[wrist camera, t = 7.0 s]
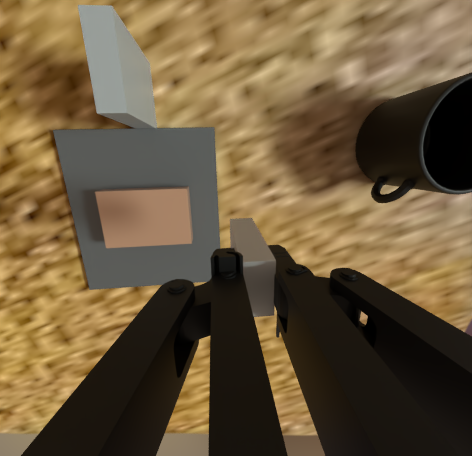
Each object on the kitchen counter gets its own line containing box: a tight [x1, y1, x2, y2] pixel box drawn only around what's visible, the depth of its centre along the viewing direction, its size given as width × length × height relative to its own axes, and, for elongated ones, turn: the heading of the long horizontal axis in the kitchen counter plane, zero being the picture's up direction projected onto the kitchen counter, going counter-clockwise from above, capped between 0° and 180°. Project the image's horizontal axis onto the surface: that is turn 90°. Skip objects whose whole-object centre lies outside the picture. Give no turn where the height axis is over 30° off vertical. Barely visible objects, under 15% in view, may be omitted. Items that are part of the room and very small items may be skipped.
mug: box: [356, 73, 472, 203], centre depth 23 cm, size 9×12×9 cm
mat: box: [53, 127, 220, 290], centre depth 27 cm, size 18×16×1 cm
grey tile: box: [78, 5, 157, 129], centre depth 19 cm, size 6×2×9 cm, turn 1°
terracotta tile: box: [95, 186, 193, 248], centre depth 25 cm, size 6×2×9 cm
